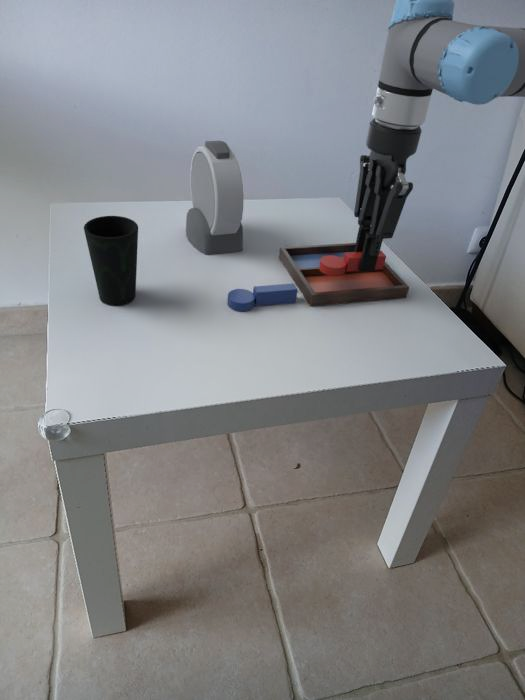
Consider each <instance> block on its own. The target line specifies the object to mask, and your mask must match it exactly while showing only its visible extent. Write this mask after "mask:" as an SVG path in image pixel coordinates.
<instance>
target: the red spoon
mask: <svg viewBox="0 0 525 700" xmlns="http://www.w3.org/2000/svg"><path fill="white" fill-rule="evenodd" d="M361 255H362V252H349V253H344V258H341V257H338V256H334V255H327V256H323V257H322V258H321V260H320V266H319V270H320V271H321V272H322V273H324V274H326V275H329V276H341V275H343V274H344V273H345V271H346V272H350V271H359V270H358V269H359V264H360V260H361ZM386 259H387V255H386V254H385V253H384V252H383V251H382V250H380V252H379V255H378V258H377V262H376V266H375V270H379V269H383V267H384V263H385V262H386Z"/></svg>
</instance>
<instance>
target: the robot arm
mask: <svg viewBox="0 0 525 700" xmlns="http://www.w3.org/2000/svg"><path fill="white" fill-rule="evenodd" d="M394 4H395V5H394V7H393V12H392V16H391V20H390V23H389V24H388V26H387V27H388V28H387V36H386V40H385V41H386V42H385V46H384V50H383V56H382V61H381V65H380V66H381V67H380V71H379V77H378V83H377V89H376V94H375V96H374V97H373V108H372V112H371V116H372V118H373V119H372V120H371V121H369V125H368V131H367V135H366V141H365V145H366V148H367V149H369V150H370V152H369V154H361V155H360V157H359V175H358V181H357V182H358V183H357V190H356V198H355V205H354V211H353V212H354V213H353V215H354V218H357V225H358V231H357V235H356V240H355V243H356V245H355V249H354V252H362V255H361V260H360V264H359V269H358V270H359V271H360V272H361V271H374V270H375V266H376V262H377V258H378V255H379V252H380V251H381V248H382V244H383V240H384V239H385V240H386V239H387V240H389V239H393V237H394V234H395V232H396V228H397V225H398V223H399V220H400V219H401V215H402V212H403V209H404V207H405V204H406V201H407V198H408V197H409V195H410V194H411V192H412V191H413V189H414V183H413V182H412V181H407V179H406V177H405V175H406V172H407V161H408V159H409V158H410V157H411V156H413V155H415V154H416V152H417V150H418V146H419V143H420V139H421V135H422V132H423V131H422V128H421V126H422V125H423V124H425V121H426V118H427V113H428V110H429V105H430V101H431V97H432V94H433V91H434V90H435V91H437V92H440V93H441V94H445V95H446V96H448V97H449V98H453V100H455V101H458V102H460V103H463V102H466V103H469V104H472V105H475V106H476V105H478V106H479V105H486V104H488V103H490V102H492V101H493V100H495V99H497V98H500V97H501V98H505V97H511V98H512V97H514V98H515V97H516V98H517V97H518V98H520V97H521V98H525V27H508V26H507V27H506V26H496V25H495V26H494V25H478V24H471V23H466V22H461V21H456V20H454V9H455V2H454V0H396V1H395V3H394Z"/></svg>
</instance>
